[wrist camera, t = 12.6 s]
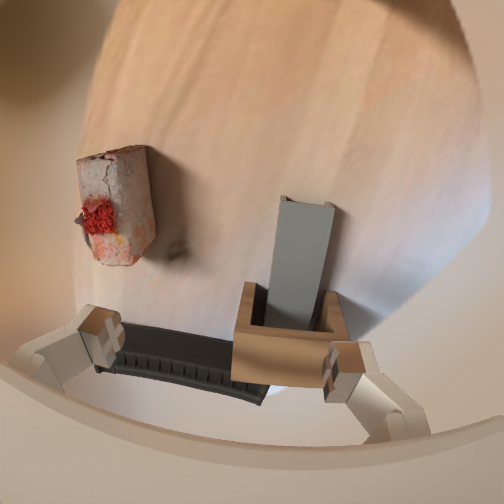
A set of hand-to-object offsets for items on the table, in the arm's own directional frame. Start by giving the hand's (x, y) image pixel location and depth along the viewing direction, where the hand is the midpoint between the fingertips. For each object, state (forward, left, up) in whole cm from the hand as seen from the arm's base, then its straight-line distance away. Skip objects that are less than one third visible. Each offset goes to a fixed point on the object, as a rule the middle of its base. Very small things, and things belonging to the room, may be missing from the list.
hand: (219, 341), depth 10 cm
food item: (+2, -17, -26) cm, 30 cm away
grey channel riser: (+10, +5, -25) cm, 28 cm away
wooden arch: (+16, +5, -25) cm, 30 cm away
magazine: (+24, -9, -26) cm, 36 cm away
